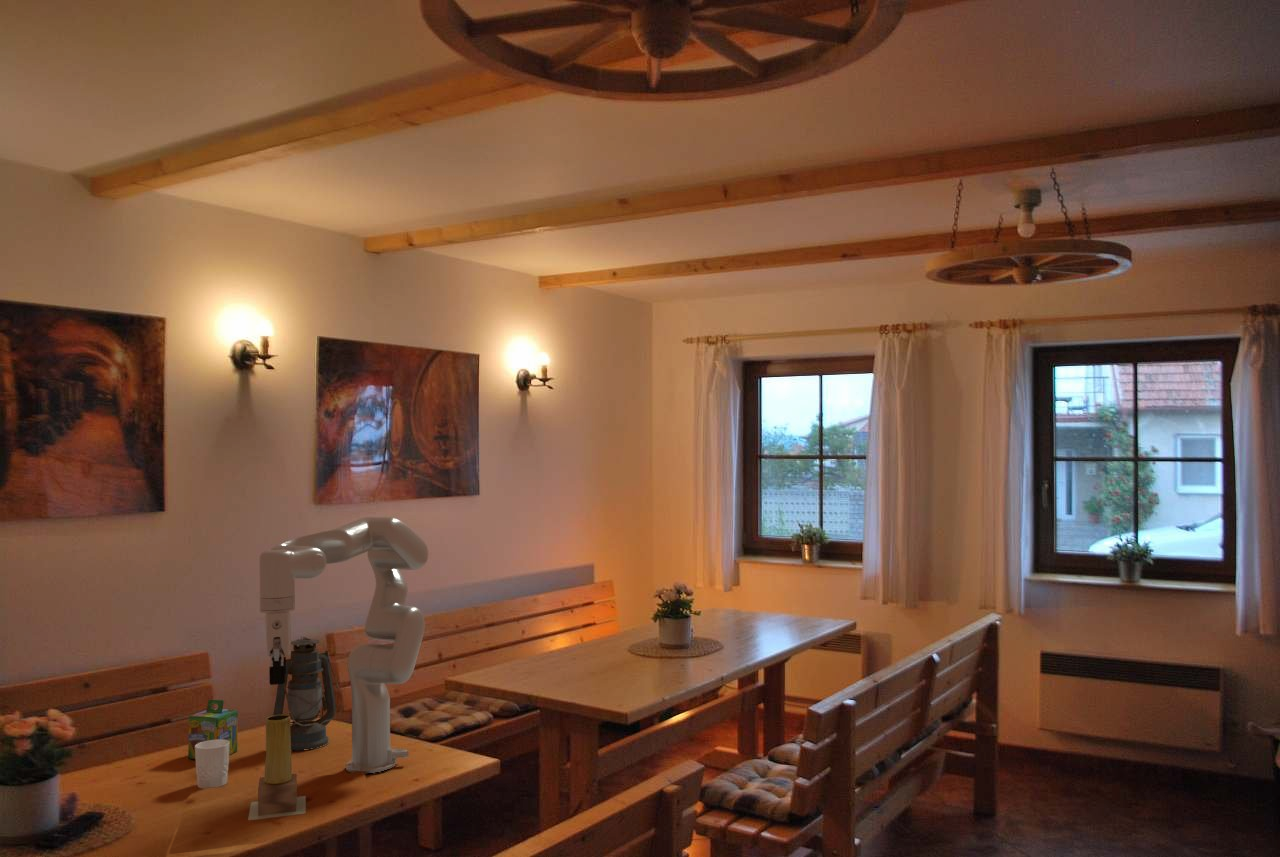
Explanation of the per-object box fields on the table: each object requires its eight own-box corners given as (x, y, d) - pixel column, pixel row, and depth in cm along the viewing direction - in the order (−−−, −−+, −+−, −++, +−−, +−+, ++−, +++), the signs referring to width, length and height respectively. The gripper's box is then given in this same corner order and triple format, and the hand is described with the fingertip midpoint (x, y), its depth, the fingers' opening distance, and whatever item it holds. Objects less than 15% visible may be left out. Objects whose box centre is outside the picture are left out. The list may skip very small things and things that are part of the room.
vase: (268, 776, 227) (268, 714, 227) (295, 775, 228) (295, 713, 228) (260, 785, 221) (260, 721, 221) (288, 784, 222) (288, 720, 222)
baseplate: (305, 800, 231) (305, 795, 231) (305, 817, 220) (305, 813, 220) (251, 806, 228) (251, 802, 228) (247, 824, 216) (247, 820, 216)
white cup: (216, 790, 239) (216, 749, 239) (187, 789, 240) (187, 747, 240) (236, 780, 246) (236, 740, 247) (208, 778, 248) (208, 738, 248)
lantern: (323, 732, 288) (322, 629, 289) (351, 741, 279) (350, 635, 280) (260, 748, 273) (260, 640, 274) (288, 758, 264) (288, 646, 265)
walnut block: (296, 799, 229) (296, 773, 229) (296, 811, 221) (296, 784, 221) (259, 803, 226) (259, 777, 226) (258, 815, 219) (258, 788, 219)
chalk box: (187, 759, 264) (187, 704, 264) (209, 749, 273) (209, 695, 273) (217, 761, 262) (217, 705, 262) (238, 751, 271) (238, 697, 271)
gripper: (294, 608, 218) (294, 686, 218) (295, 598, 234) (295, 670, 234) (257, 611, 216) (258, 689, 215) (261, 599, 232) (262, 672, 232)
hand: (277, 679), depth 225 cm, fingers open, 9 cm apart
